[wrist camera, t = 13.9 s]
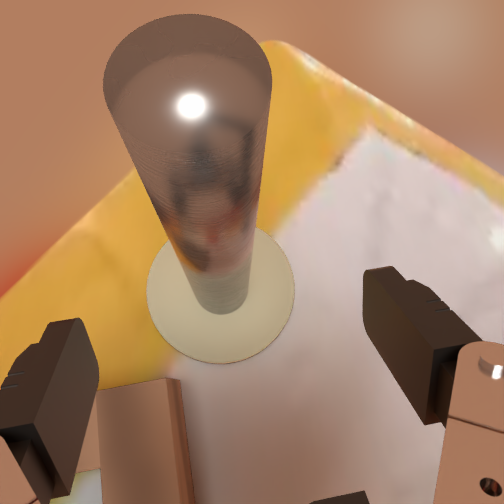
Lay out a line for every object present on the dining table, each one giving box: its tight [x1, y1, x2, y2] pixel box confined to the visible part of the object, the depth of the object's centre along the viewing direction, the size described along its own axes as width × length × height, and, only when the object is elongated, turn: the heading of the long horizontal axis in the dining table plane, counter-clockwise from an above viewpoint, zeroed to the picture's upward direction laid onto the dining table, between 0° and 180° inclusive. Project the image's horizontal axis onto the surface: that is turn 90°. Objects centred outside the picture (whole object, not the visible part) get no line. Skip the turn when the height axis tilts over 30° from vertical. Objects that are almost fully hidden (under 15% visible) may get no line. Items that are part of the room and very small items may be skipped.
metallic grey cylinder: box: [103, 14, 272, 315], centre depth 20 cm, size 4×4×22 cm
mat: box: [146, 227, 294, 364], centre depth 31 cm, size 11×11×1 cm
